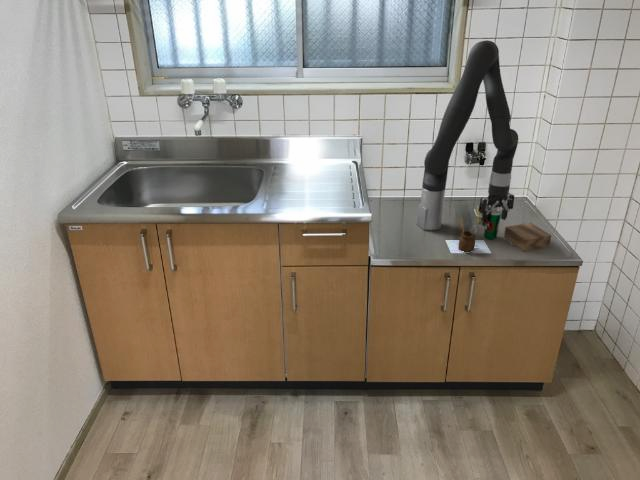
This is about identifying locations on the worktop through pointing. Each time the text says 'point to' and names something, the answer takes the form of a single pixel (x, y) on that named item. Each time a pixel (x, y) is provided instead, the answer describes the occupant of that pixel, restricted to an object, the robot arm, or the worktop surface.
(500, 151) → the robot arm
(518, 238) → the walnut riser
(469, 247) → the utensil holder
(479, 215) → the grey flat gold-topped slab
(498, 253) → the worktop surface
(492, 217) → the soda can
